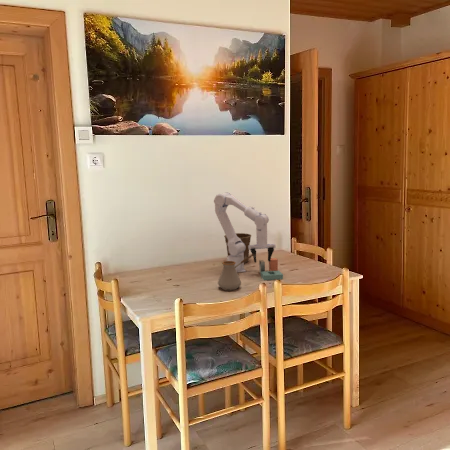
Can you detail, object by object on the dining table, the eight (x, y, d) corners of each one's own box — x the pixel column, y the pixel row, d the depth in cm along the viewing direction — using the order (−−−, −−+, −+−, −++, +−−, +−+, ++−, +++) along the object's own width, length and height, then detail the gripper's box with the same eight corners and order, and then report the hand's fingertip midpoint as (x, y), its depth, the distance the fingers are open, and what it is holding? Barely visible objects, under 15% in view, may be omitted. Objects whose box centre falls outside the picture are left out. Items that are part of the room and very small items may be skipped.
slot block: (264, 280, 239) (264, 275, 238) (260, 276, 246) (260, 271, 246) (282, 279, 240) (282, 274, 240) (278, 275, 248) (278, 270, 247)
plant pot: (222, 259, 285) (222, 233, 283) (248, 257, 288) (247, 232, 285) (227, 265, 269) (226, 238, 267) (254, 264, 272) (254, 237, 269)
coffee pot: (226, 293, 219) (225, 262, 217) (213, 287, 228) (212, 257, 226) (261, 285, 231) (261, 255, 228) (248, 279, 240) (247, 251, 238)
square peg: (270, 272, 253) (270, 260, 252) (268, 270, 257) (268, 258, 256) (277, 272, 254) (277, 259, 253) (275, 270, 258) (275, 257, 257)
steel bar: (261, 274, 249) (261, 262, 248) (259, 272, 254) (259, 260, 252) (264, 274, 249) (264, 261, 248) (263, 272, 254) (262, 259, 253)
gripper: (250, 239, 243) (250, 264, 245) (276, 237, 245) (277, 262, 247) (247, 236, 250) (247, 261, 252) (273, 235, 252) (273, 259, 254)
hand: (262, 261), depth 250 cm, fingers open, 7 cm apart
